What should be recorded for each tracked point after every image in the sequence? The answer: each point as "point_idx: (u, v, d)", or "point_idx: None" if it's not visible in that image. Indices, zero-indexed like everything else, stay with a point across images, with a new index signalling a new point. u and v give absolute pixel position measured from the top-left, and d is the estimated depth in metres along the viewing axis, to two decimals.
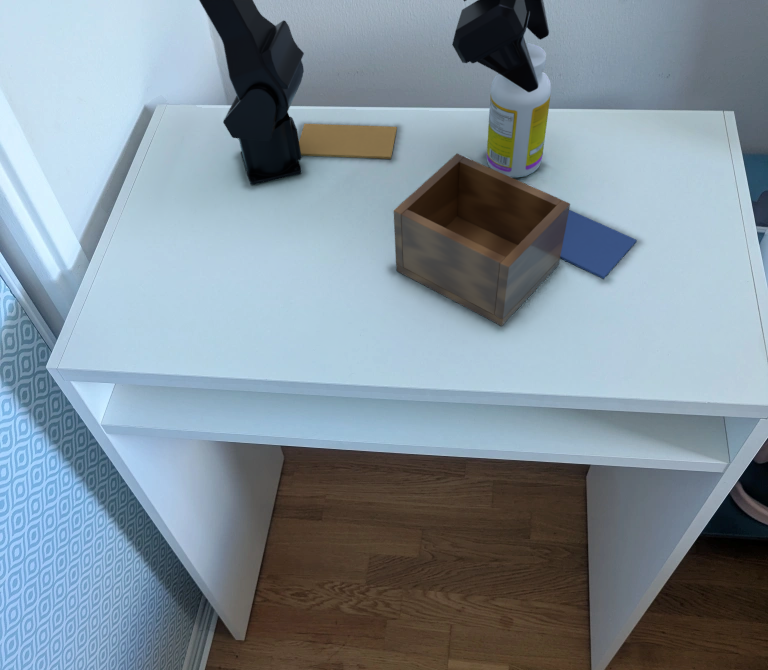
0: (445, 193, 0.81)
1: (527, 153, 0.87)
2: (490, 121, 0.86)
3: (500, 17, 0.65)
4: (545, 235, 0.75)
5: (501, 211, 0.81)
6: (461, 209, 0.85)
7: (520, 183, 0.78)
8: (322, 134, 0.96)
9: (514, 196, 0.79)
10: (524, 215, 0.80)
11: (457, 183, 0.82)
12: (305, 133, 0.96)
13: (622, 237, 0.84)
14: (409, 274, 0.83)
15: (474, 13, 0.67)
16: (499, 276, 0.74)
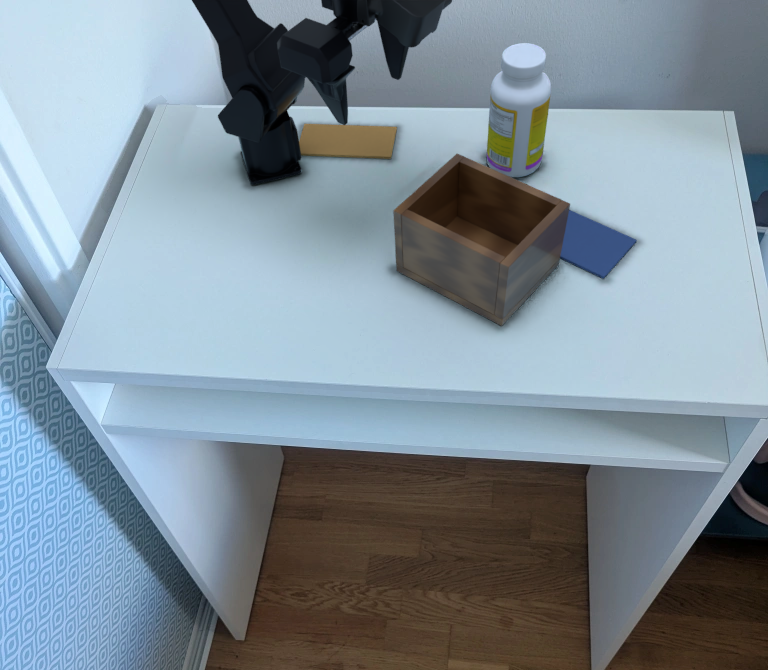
0: (445, 193, 0.81)
1: (527, 153, 0.87)
2: (490, 121, 0.86)
3: (314, 59, 0.68)
4: (545, 235, 0.75)
5: (501, 211, 0.81)
6: (461, 209, 0.85)
7: (520, 183, 0.78)
8: (322, 134, 0.96)
9: (514, 196, 0.79)
10: (524, 215, 0.80)
11: (457, 183, 0.82)
12: (305, 133, 0.96)
13: (622, 237, 0.84)
14: (409, 274, 0.83)
15: (304, 34, 0.68)
16: (499, 276, 0.74)
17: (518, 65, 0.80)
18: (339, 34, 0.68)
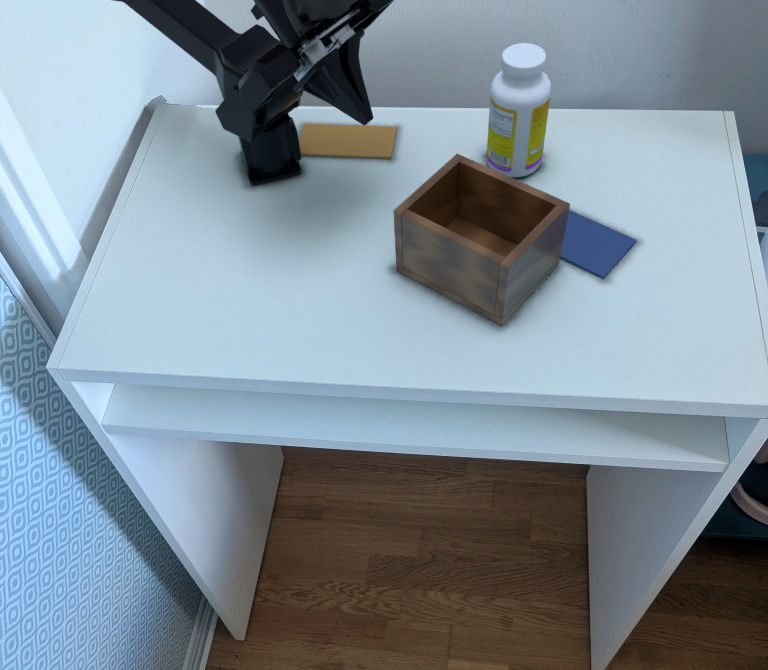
0: (445, 193, 0.81)
1: (527, 153, 0.87)
2: (490, 121, 0.86)
3: (255, 72, 0.69)
4: (545, 235, 0.75)
5: (501, 211, 0.81)
6: (461, 209, 0.85)
7: (520, 183, 0.78)
8: (322, 134, 0.96)
9: (514, 196, 0.79)
10: (524, 215, 0.80)
11: (457, 183, 0.82)
12: (305, 133, 0.96)
13: (622, 237, 0.84)
14: (409, 274, 0.83)
15: None
16: (499, 276, 0.74)
17: (518, 65, 0.80)
18: (276, 46, 0.70)
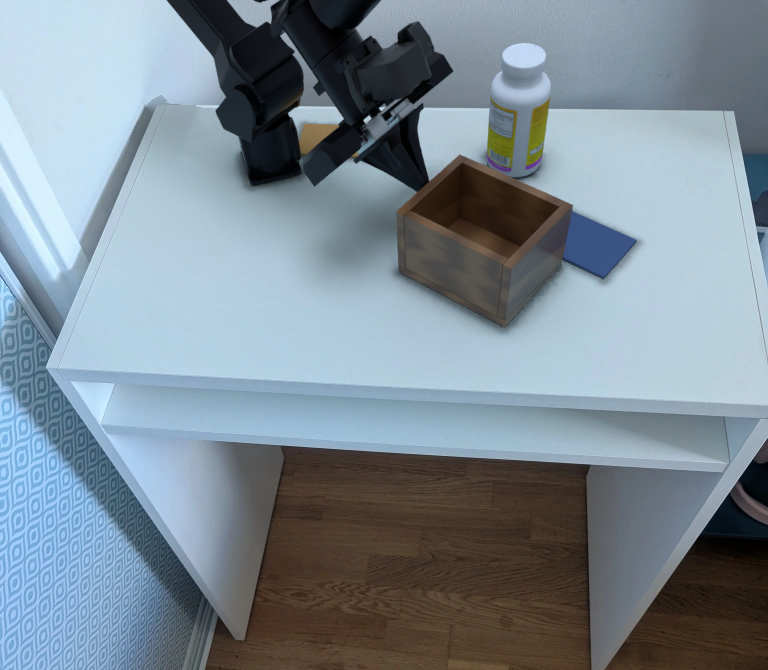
0: (448, 194, 0.81)
1: (527, 153, 0.87)
2: (490, 121, 0.86)
3: (322, 151, 0.71)
4: (548, 237, 0.75)
5: (504, 212, 0.81)
6: (464, 210, 0.85)
7: (523, 184, 0.78)
8: (322, 134, 0.96)
9: (516, 198, 0.79)
10: (527, 216, 0.79)
11: (460, 184, 0.82)
12: (305, 133, 0.96)
13: (622, 237, 0.84)
14: (412, 275, 0.83)
15: None
16: (502, 277, 0.74)
17: (518, 65, 0.80)
18: (341, 125, 0.72)
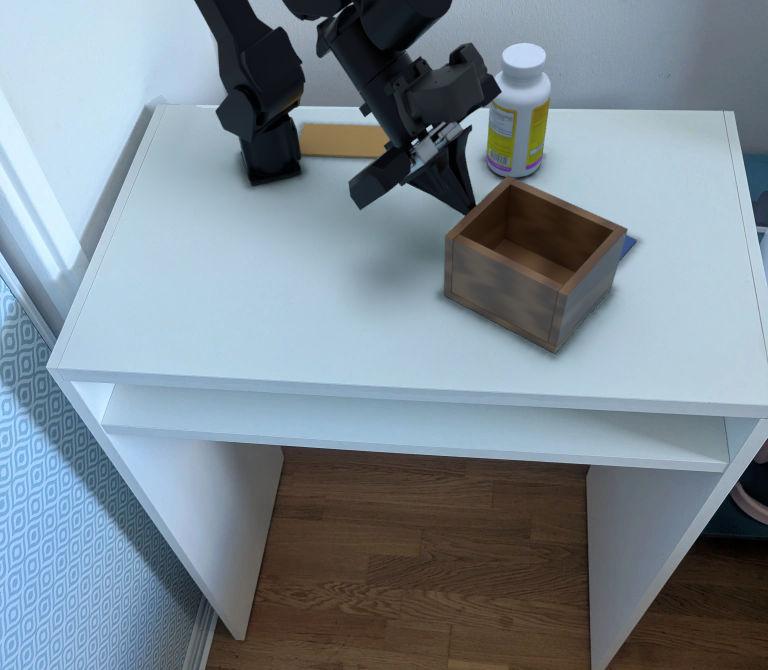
0: (495, 216, 0.79)
1: (527, 153, 0.87)
2: (490, 121, 0.86)
3: (371, 176, 0.69)
4: (603, 262, 0.73)
5: (553, 235, 0.79)
6: (510, 231, 0.83)
7: (575, 207, 0.76)
8: (322, 134, 0.96)
9: (568, 220, 0.77)
10: (578, 239, 0.77)
11: (507, 206, 0.80)
12: (305, 133, 0.96)
13: None
14: (458, 298, 0.80)
15: None
16: (556, 304, 0.72)
17: (518, 65, 0.80)
18: (390, 149, 0.70)
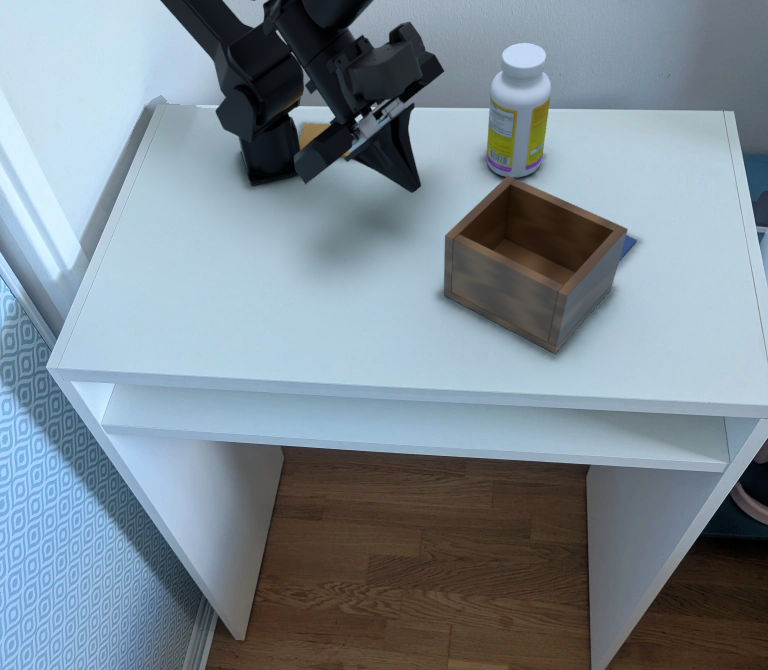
0: (495, 216, 0.79)
1: (527, 153, 0.87)
2: (490, 121, 0.86)
3: (313, 150, 0.72)
4: (603, 262, 0.73)
5: (553, 235, 0.79)
6: (510, 231, 0.83)
7: (575, 207, 0.76)
8: None
9: (568, 220, 0.77)
10: (578, 239, 0.77)
11: (507, 206, 0.80)
12: (305, 133, 0.96)
13: None
14: (458, 298, 0.80)
15: None
16: (556, 304, 0.72)
17: (518, 65, 0.80)
18: (333, 124, 0.73)
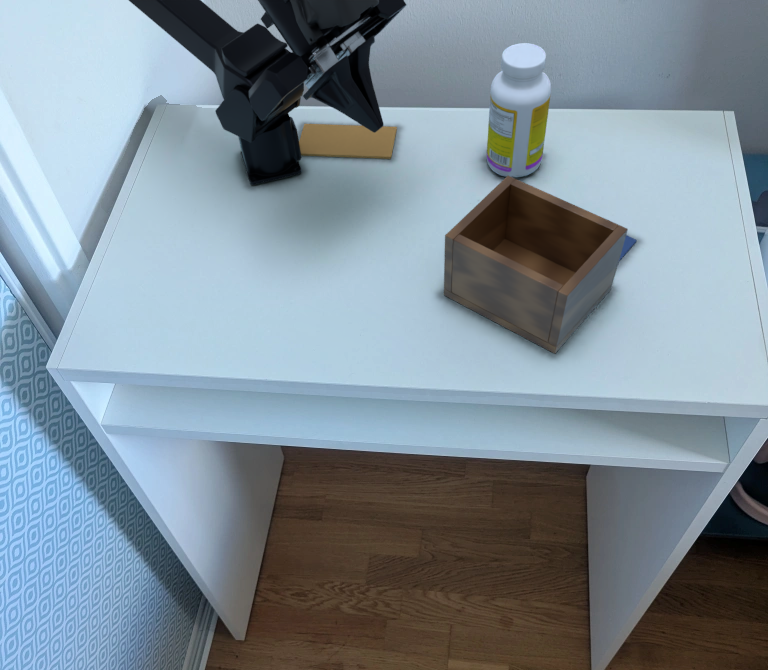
0: (495, 216, 0.79)
1: (527, 153, 0.87)
2: (490, 121, 0.86)
3: (266, 81, 0.69)
4: (603, 262, 0.73)
5: (553, 235, 0.79)
6: (510, 231, 0.83)
7: (575, 207, 0.76)
8: (322, 134, 0.96)
9: (568, 220, 0.77)
10: (578, 239, 0.77)
11: (507, 206, 0.80)
12: (305, 133, 0.96)
13: None
14: (458, 298, 0.80)
15: None
16: (556, 304, 0.72)
17: (518, 65, 0.80)
18: (287, 54, 0.70)
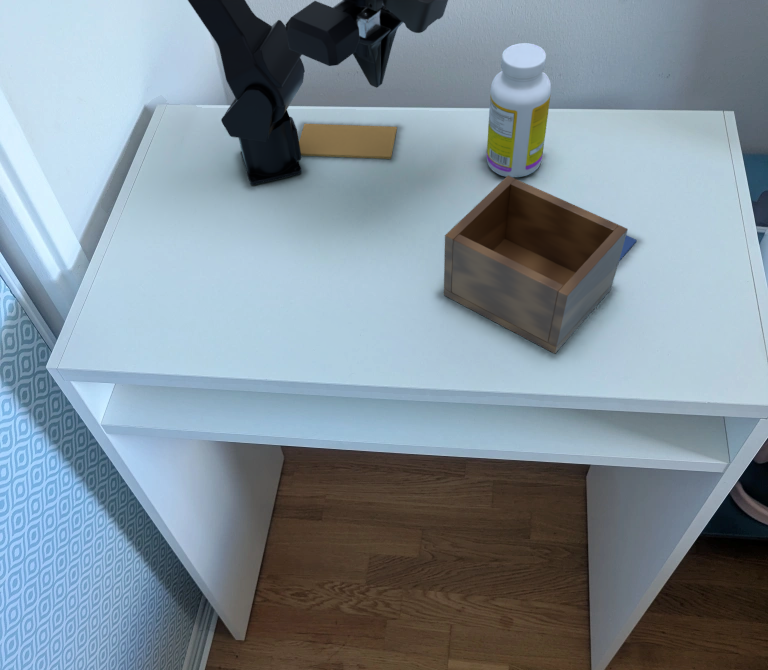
0: (495, 216, 0.79)
1: (527, 153, 0.87)
2: (490, 121, 0.86)
3: (322, 42, 0.69)
4: (603, 262, 0.73)
5: (553, 235, 0.79)
6: (510, 231, 0.83)
7: (575, 207, 0.76)
8: (322, 134, 0.96)
9: (568, 220, 0.77)
10: (578, 239, 0.77)
11: (507, 206, 0.80)
12: (305, 133, 0.96)
13: None
14: (458, 298, 0.80)
15: (313, 17, 0.70)
16: (556, 304, 0.72)
17: (518, 65, 0.80)
18: (347, 18, 0.69)
